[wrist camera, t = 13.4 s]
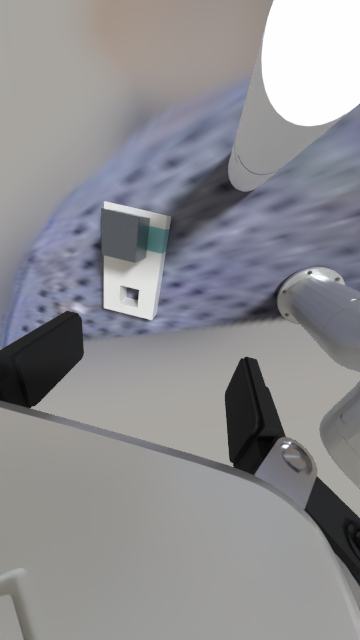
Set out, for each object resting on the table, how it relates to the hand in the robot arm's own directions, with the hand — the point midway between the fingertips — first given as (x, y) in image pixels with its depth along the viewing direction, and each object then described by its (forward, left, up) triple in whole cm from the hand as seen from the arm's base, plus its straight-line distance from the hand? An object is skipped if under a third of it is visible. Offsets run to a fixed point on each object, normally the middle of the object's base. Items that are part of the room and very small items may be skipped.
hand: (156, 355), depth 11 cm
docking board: (+13, +4, -33) cm, 36 cm away
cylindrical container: (-5, -17, -34) cm, 38 cm away
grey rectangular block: (+13, -2, -33) cm, 36 cm away
